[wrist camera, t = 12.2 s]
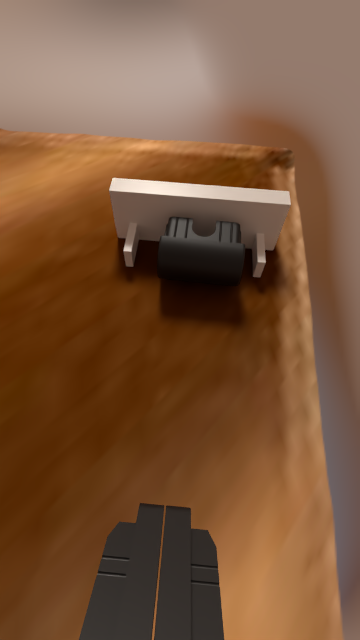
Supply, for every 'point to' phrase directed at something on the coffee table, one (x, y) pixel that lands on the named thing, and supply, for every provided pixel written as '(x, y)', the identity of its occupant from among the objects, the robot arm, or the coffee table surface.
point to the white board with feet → (197, 213)
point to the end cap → (201, 253)
